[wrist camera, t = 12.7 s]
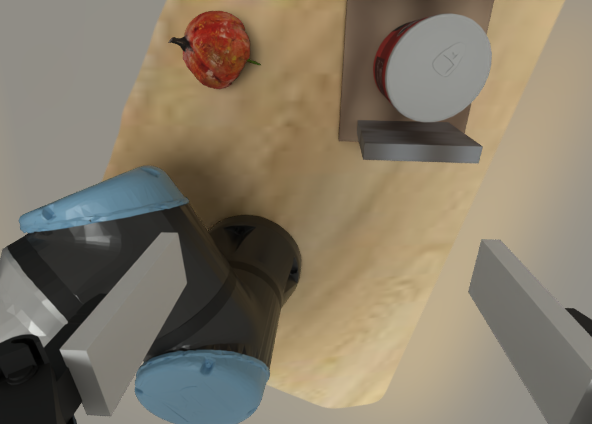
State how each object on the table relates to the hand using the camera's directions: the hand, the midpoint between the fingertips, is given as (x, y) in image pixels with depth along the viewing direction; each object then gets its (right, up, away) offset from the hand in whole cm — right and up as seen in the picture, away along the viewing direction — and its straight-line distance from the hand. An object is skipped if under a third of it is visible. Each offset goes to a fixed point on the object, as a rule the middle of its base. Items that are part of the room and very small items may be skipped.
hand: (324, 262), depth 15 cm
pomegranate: (-9, +21, +24) cm, 33 cm away
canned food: (+11, +18, +21) cm, 30 cm away
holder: (+11, +18, +22) cm, 31 cm away
